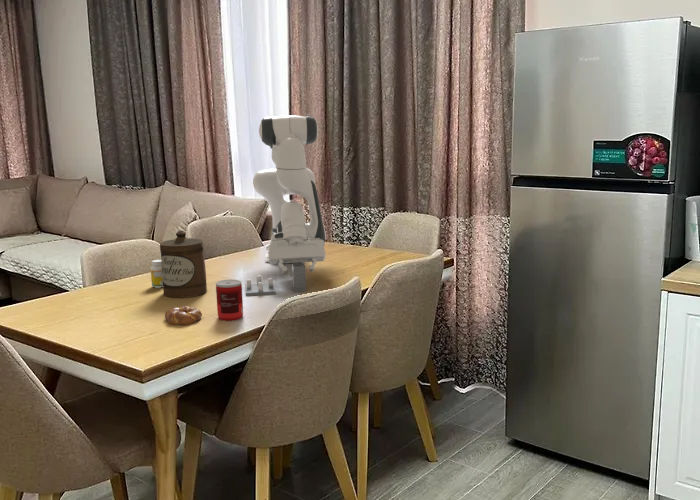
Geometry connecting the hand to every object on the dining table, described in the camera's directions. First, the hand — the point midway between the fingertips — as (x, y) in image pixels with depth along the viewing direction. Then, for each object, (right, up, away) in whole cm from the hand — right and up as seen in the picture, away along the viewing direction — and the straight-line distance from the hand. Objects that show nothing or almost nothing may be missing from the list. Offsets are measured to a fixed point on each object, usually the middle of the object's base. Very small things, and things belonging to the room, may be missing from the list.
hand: (298, 271), depth 238 cm
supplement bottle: (-51, -6, +10) cm, 53 cm away
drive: (0, -7, +1) cm, 7 cm away
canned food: (-18, -13, -31) cm, 38 cm away
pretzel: (-32, -14, -32) cm, 48 cm away
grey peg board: (-14, -7, +1) cm, 15 cm away
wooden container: (-40, -8, +1) cm, 40 cm away
